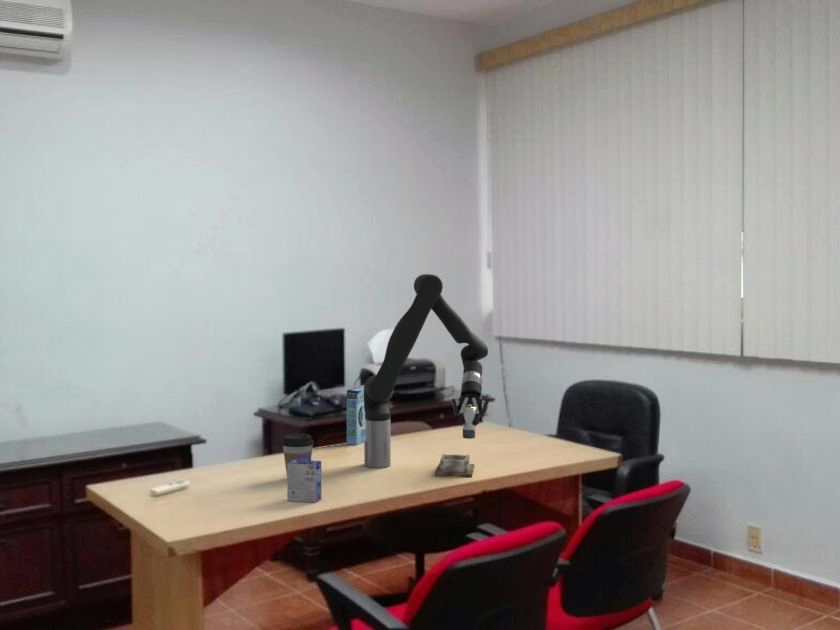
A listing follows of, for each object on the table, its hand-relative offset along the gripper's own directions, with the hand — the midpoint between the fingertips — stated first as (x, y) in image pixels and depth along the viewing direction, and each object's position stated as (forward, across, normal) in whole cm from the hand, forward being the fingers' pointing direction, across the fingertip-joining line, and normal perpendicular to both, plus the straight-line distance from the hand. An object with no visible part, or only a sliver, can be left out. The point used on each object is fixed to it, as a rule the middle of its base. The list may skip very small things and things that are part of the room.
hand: (468, 424), depth 305 cm
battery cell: (+2, 0, +5) cm, 5 cm away
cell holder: (+11, -5, +14) cm, 18 cm away
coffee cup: (+25, -58, +2) cm, 63 cm away
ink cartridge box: (+43, -48, -17) cm, 67 cm away
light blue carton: (-24, -49, +50) cm, 74 cm away
